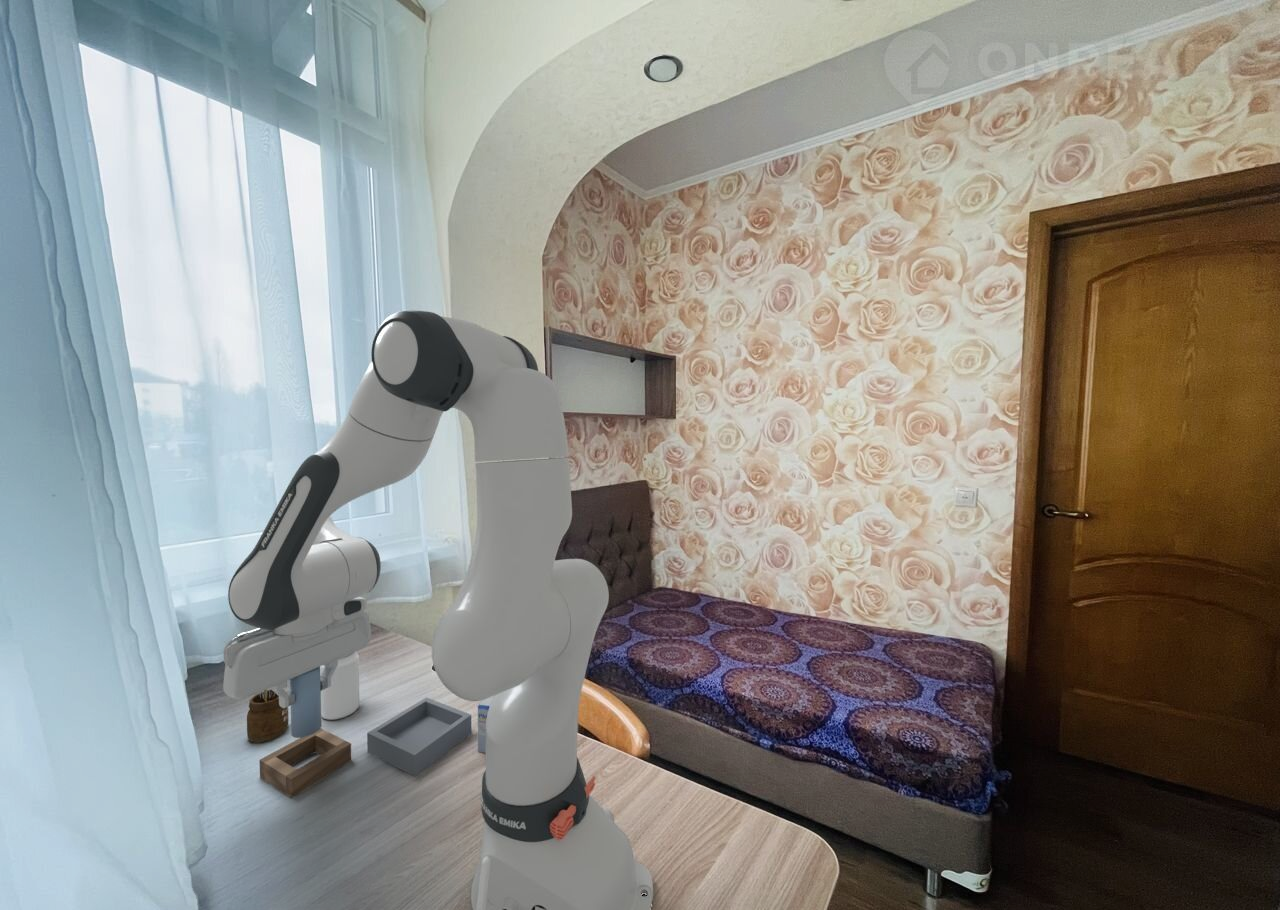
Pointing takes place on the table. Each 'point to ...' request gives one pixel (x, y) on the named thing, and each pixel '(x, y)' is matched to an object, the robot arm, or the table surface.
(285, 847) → the table surface
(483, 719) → the medicine box
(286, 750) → the collar
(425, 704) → the tray
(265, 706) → the utensil holder
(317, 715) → the dowel
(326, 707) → the can
